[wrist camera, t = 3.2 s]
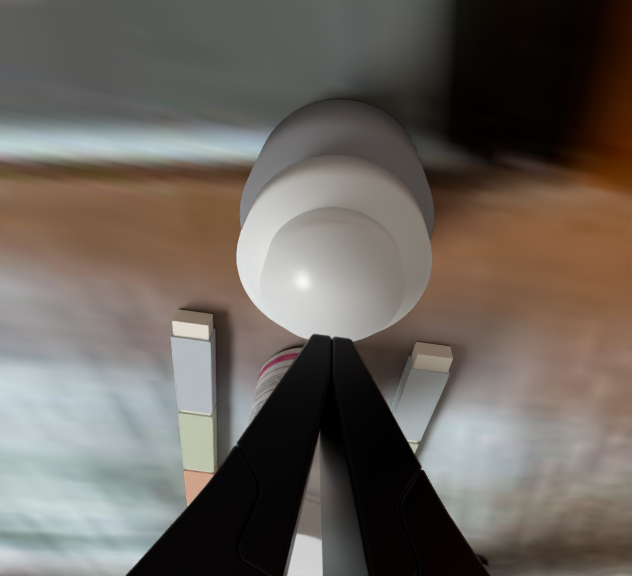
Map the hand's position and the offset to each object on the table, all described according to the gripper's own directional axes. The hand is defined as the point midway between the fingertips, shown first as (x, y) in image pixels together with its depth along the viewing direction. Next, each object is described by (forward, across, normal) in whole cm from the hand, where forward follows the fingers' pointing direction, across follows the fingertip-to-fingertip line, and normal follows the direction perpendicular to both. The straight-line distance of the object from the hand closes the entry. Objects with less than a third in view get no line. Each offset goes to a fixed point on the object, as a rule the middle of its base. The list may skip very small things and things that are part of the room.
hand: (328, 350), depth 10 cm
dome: (+4, 0, 0) cm, 4 cm away
